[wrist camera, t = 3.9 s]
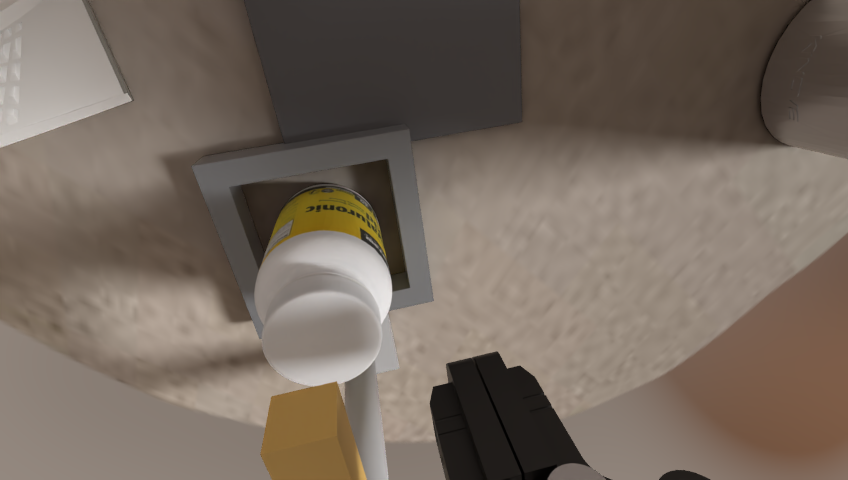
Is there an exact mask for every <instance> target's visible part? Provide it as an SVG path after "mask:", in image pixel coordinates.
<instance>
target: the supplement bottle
mask: <svg viewBox="0 0 848 480" xmlns="http://www.w3.org/2000/svg"><path fill="white" fill-rule="evenodd" d="M254 298H255V306H256V310H257V313H258V316H259V318H260V320H261V322H262V323H263V325H264V327H263V331H262V348H263V352H264V355H265V357H266V359H267V361H268V362H269V364H270V365H271V367H272V368H273V369H274V370H275V371H276V372H278V373H279V374H280V375H282V376H283V377H285V378H287V379H288V380H291V381H293V382H295V383H298V384H302V385H307V386H319V385H323V384H327V383H332V382H336V381H337V383H338V384H340V383H343V382H347V381H349V380H351V379H353V378H355V377H357V376H358V375H360V374H361V373H362V372H364V371H365V370H366V369H367V368H368V367H369V366H370V365H371V364H372V363H373V361H374V360H375V358H376V357H377V355H378V353H379V350H380V347H381V343H382V327H381V324H382V323H383V321H384V319H385V317H386V316H387V314H388V311H389V309H390V305H391V300H392V281H391V275H390V270H389V266H388V262H387V258H386V253H385V249H384V243H383V240H382V235H381V230H380V226H379V223H378V219H377V217H376V214H375V212H374V210H373V208H372V207H371V206H370V204H369V203H368V202H367V201H366V200H365V199H364V198H363V197H362V196H361V195H360V194H358V193H357V192H355V191H353V190H351V189H349V188H347V187H344V186H340V185H335V184H319V185H314V186H310V187H307V188H305V189H303V190H301V191H300V192H298V193H296V194H295V195H294V196H293V197H291V198H290V199H289V200H288V202H287V203H286V204H285V205H284V207H283V208H282V210H281V212H280V214H279V216H278V219H277V221H276V224H275V227H274V230H273V233H272V235H271V238H270V241H269V244H268V247H267V250H266V252H265V255H264V258H263V261H262V264H261V266H260V269H259V272H258V275H257V279H256V284H255V291H254Z"/></svg>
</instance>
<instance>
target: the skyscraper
mask: <svg viewBox="0 0 848 480" xmlns="http://www.w3.org/2000/svg"><path fill="white" fill-rule="evenodd" d="M130 101H133V98H132V95H131V93H130V91H129V89H128V87H127V84H126V82H125V80H124V78H123V76H122V73H121V71H120V69H119V67H118V65H117V62H116V60H115V58H114V56H113V54H112V52H111V49H110V47H109V45H108V43H107V41H106V38H105V36H104V34H103V32H102V30H101V27H100V25H99V23H98V21H97V19H96V16H95V14H94V12H93V10H92V8H91V5H90V3H89V1H88V0H0V148H1V147H4V146H7V145H10V144H13V143H16V142H19V141H22V140H25V139H28V138H31V137H33V136H36V135H39V134H42V133H45V132H47V131H50V130H53V129H56V128H58V127H61V126H64V125H67V124H70V123H72V122H75V121H78V120H81V119H84V118H86V117H89V116H92V115H95V114H97V113H100V112H103V111H106V110H108V109H111V108H114V107H117V106H119V105H122V104H125V103H127V102H130Z"/></svg>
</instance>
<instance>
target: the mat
mask: <svg viewBox="0 0 848 480" xmlns="http://www.w3.org/2000/svg"><path fill="white" fill-rule="evenodd" d="M244 3H245V6H246V10H247V13H248V17H249V20H250V24H251V27H252V31H253V35H254V38H255V42H256V45H257V49H258V52H259V56H260V59H261V63H262V66H263V70H264V73H265V77H266V80H267V84H268V88H269V91H270V95H271V98H272V102H273V105H274V109H275V112H276V116H277V119H278V123H279V126H280V130H281V133H282V137H283V141H284V144H289V143H295V142H301V141H307V140H313V139H319V138H325V137H330V136H336V135H342V134H348V133H354V132H360V131H366V130H372V129H378V128H384V127H390V126H396V125H401V124H405V125H406V126H407V127H408V128H409V131H410V138H411V141H416V140H421V139H427V138H433V137H439V136H444V135H450V134H456V133H462V132H467V131H473V130H479V129H485V128H490V127H496V126H502V125H508V124H513V123H519V122H522V95H521V46H520V0H244Z"/></svg>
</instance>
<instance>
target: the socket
mask: <svg viewBox="0 0 848 480" xmlns="http://www.w3.org/2000/svg"><path fill="white" fill-rule="evenodd" d="M384 159H386V162H387V168H388V174H389V179H390V185H391V191H392V197H393V202H394V208H395V214H396V220H397V225H398V231H399V237H400V243H401V248H402V254H403V260H404V266H405V271H406V272H404V273H399V274H394V275H391V281H392V300H391V305H390V309H389V311H391V310H395V309H400V308H404V307H409V306H414V305H418V304H423V303H427V302H432V301H434V299H433V292H432V285H431V278H430V271H429V264H428V257H427V250H426V243H425V236H424V229H423V222H422V215H421V208H420V201H419V194H418V187H417V180H416V173H415V166H414V159H413V152H412V145H411V138H410V131H409V128H408V127H407V126H406V125H405V124H401V125H396V126H390V127H384V128H378V129H372V130H366V131H360V132H354V133H348V134H342V135H336V136H330V137H325V138H319V139H313V140H307V141H301V142H295V143H289V144H284V143H279V144H273V145H267V146H261V147H256V148H250V149H244V150H238V151H232V152H226V153H220V154H214V155H208V156H203V157H202V158H201V159H199V160H198V161H197V162H196V163H195V164H194V165H192V166H191V167H192V169H193V172H194V174H195V177H196V180H197V182H198V185H199V187H200V190H201V192H202V195H203V197H204V200H205V202H206V205H207V207H208V210H209V212H210V215H211V217H212V220H213V222H214V225H215V228H216V230H217V233H218V235H219V238H220V240H221V243H222V245H223V248H224V250H225V253H226V255H227V258H228V260H229V263H230V265H231V268H232V271H233V273H234V276H235V278H236V281H237V283H238V286H239V288H240V291H241V293H242V296H243V298H244V301H245V303H246V306H247V308H248V311H249V313H250V316H251V319H252V321H253V324H254V326H255V329H256V331H257V334H258V336H259V339H262V331H263V327H264V325H263V323H262V322H261V320H260V318H259V316H258V313H257V310H256V306H255V298H254V291H255V284H256V279H257V275H258V272H259V269H260V266H261V264H262V261H263V258H264V252H263V249H262V246H261V243H260V240H259V237H258V234H257V232H256V229H255V226H254V223H253V220H252V217H251V214H250V211H249V208H248V206H247V203H246V200H245V197H244V194H243V191H242V188H241V185H243V184H249V183H255V182H260V181H266V180H271V179H277V178H283V177H288V176H294V175H300V174H305V173H311V172H316V171H322V170H328V169H333V168H339V167H345V166H350V165H356V164H362V163H367V162H373V161H378V160H384ZM381 327H382V343H381V347H380V350H379V353H378V355H377V357H376V358H375V360H374V361H373V363H372V364H371V365H370V366H369V367H368V368H367V369H366V370H365V371H364V372H362V373H361V374H360V375H358V376H357V377H355V378H353V379H351V380H349V381H347V382H345V409H346V413H347V416H348V419H349V423H350V426H351V429H352V432H353V436H354V439H355V442H356V446H357V449H358V452H359V455H360V459H361V462H362V465H363V468H364V472H365V475H366V478H367V480H389V478H388V470H387V462H386V452H385V443H384V434H383V426H382V417H381V408H380V400H379V391H378V382H377V374H378V373H382V372H387V371H391V370H395V369H399V363H398V358H397V353H396V348H395V343H394V339H393V334H392V329H391V324H390V319H389V314H387V316H386V317H385V319H384V321H383V323H382V324H381Z"/></svg>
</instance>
